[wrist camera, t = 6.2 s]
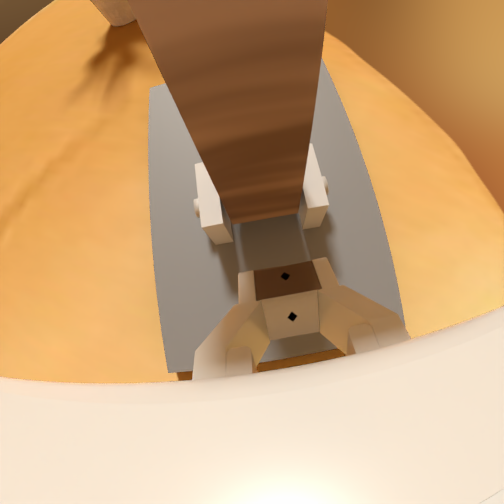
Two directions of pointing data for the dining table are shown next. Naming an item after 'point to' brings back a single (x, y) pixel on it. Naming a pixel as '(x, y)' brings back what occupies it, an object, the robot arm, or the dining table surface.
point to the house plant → (115, 11)
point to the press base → (258, 229)
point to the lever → (243, 91)
